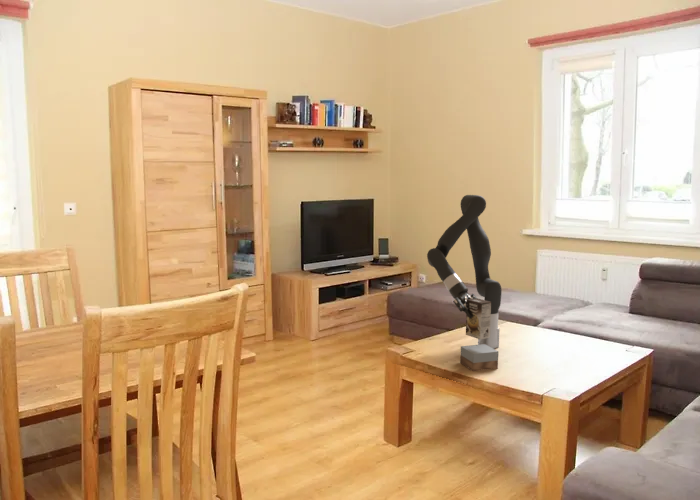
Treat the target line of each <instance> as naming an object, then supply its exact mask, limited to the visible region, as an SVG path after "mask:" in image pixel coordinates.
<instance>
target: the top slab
mask: <svg viewBox="0 0 700 500" xmlns="http://www.w3.org/2000/svg"><path fill="white" fill-rule="evenodd" d="M460 355H461V356H463V357H465V358H466V359H468V360H470V361H471V362H473V363H478V362H488V361H498V362H499V350H496V348H491V347H489V346H487V345H485V344H480V345H478V344H472V345H460Z"/></svg>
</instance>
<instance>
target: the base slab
mask: <svg viewBox="0 0 700 500" xmlns="http://www.w3.org/2000/svg"><path fill="white" fill-rule="evenodd" d="M459 359H460V361H459V363H460V364H462V365H463V366H464V367H466V368H467V369H468V370H470V371H472V372H477V371H488V370H497V369H499V360H498V361H488V362H478V363H473V362H471V361H470V360H468V359H466V358H465V357H463V356H461V354H460V358H459Z"/></svg>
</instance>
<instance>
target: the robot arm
mask: <svg viewBox="0 0 700 500" xmlns="http://www.w3.org/2000/svg"><path fill="white" fill-rule="evenodd" d="M486 208H487V200H486V199H485V198H484V196H482V195H477V194H466V195H464V196H462V198H461V200H460V210H461V214H462V215H461V216H460V217H459V218H458V219H457V220H456V221H455V222H453V223H452V224H451V225H450V226H449V227H447V229H446V230H445V231H444V232H443V233H442V235H441V236H440V238H438V241H437V245H436V246H435V247H433V248H430V249H429V250H428V251H427V254H426V257H427V258H426V259H427V262H428V264H429V265H430V266H431V267H432V268H434V270H435V271H436V274H437V275H438V277H439V279H440V280H441V281H442V282H443V284H444V286H445V288H446V290H447V291H448V292H449V294H450V295H451V296H452V298H453V303H454V305H455V307H456V308H457V309H458V311H459V312H463V313H465V315H466V314H467V316H468V317H469V318H470V319H471V318H472V317H473V316H474V315H473V314H472V312H471V311H470V310H469V309H468V303H467V299H474V298H477V296H476V294H475V293H471V294H470V293H469V292H468V291H469V288H468V287H467V286H466V284H465V283H464V282H463V280H462V278H460V276H459V275H458V274H457V273H456V271H455V270H454V269H453V267H452V266H451V265H450V264H449V262H448V259H447V256H448V254H449V253H450V251H451V250H452V248H453V247H454V246H455V244H456V243H457V242H458V240H459V239H460V237H461V236H462V234H464V233H465V231H467V237H468V241H469V248H470V253H471V254H470V255H471V258H472V262H473V263H472V264H473V267H474V275H475V287H476V292H477V293H478V295H479V296H481V297H482V298H484V299H483V300H486V301H490V302H491V317H490V337H489V338H485V339H477V345H480V344H485V345H487V346H489V347H491V348H493V349H497V348H499V347H500V331H501V329H500V327H499V309H500V308H501V303H502V286H501V284H500V282H499V281H497V280H495V279H492V278H491V276H490V275H491V274H490V272H489V270H490V269H489V263H490V260H491V255H492V249H491V245H490V240H489V237H488V235H487V233H486V231H485V230H484V228H483V226H482V225H481V222H480V219H479V217H480V216H481V215H482V214H483V213H484V211H485V210H486Z"/></svg>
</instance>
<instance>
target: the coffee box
mask: <svg viewBox="0 0 700 500" xmlns="http://www.w3.org/2000/svg"><path fill="white" fill-rule="evenodd" d="M467 303H468V309H469V310H470V311H471V312H472V314H473V315H474V316H473V317H472V318H471V319H470V318H469V317H468V316H467V314H466V313H465V315H466V316H465V335H466V336H469V337H472V338H474V339H477V340H478V339H485V338H489V337H490V317H491V302H490V301H486V300H484V299H481V298H474V299H467Z"/></svg>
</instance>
